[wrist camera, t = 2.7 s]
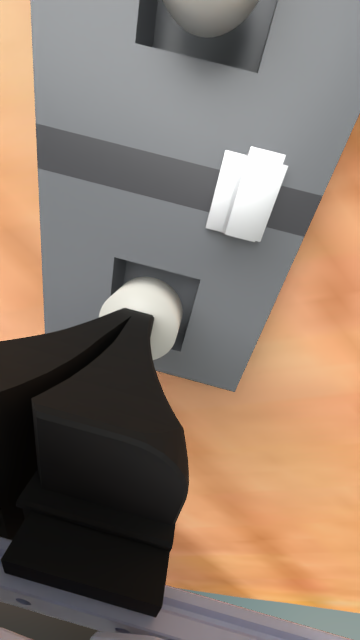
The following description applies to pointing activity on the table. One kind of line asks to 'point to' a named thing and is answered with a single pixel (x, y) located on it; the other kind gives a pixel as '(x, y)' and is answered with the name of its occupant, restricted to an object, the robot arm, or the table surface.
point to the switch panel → (183, 158)
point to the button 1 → (150, 309)
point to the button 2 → (209, 15)
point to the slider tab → (246, 193)
